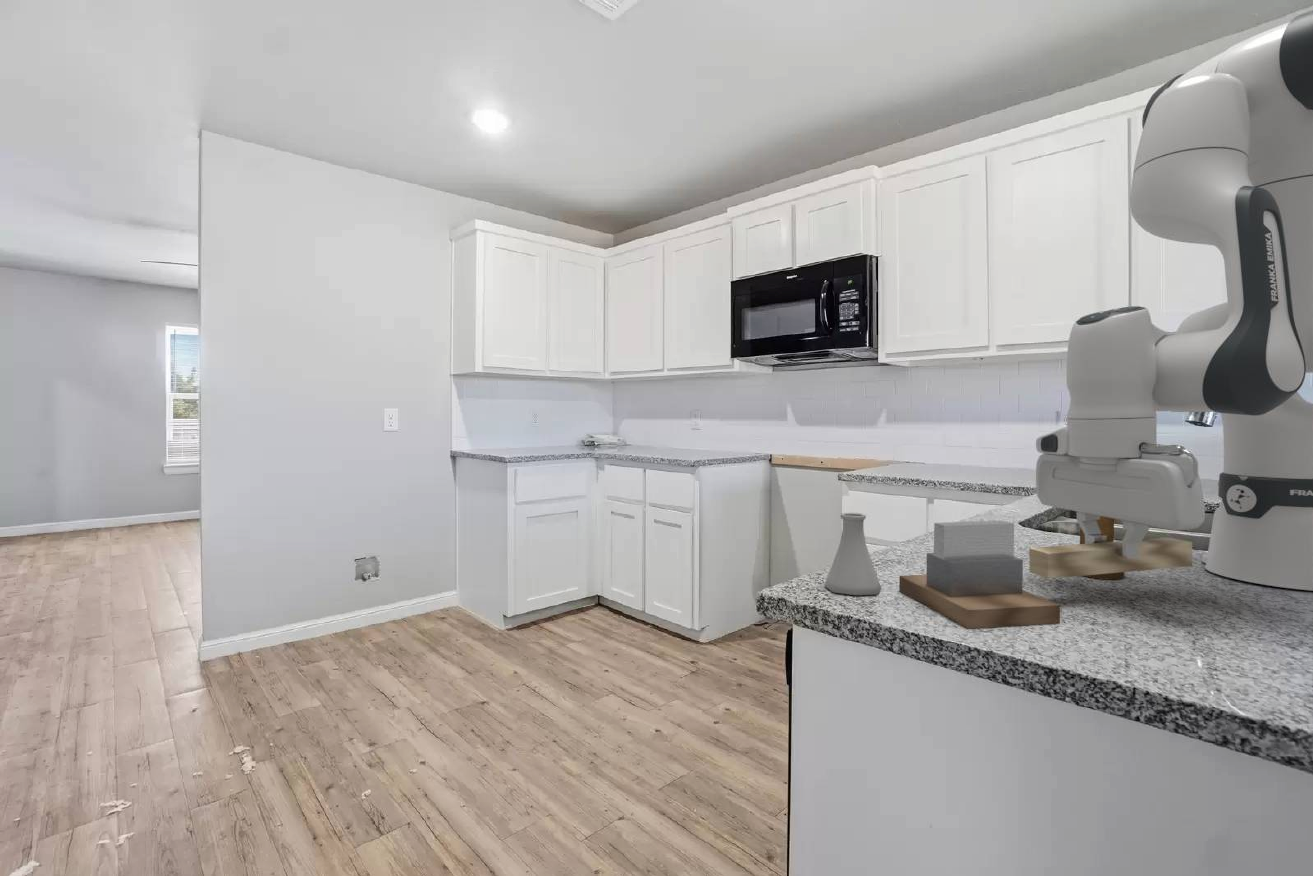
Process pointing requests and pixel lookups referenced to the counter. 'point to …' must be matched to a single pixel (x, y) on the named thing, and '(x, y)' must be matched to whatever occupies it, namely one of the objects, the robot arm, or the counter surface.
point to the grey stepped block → (974, 559)
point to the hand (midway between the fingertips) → (1111, 552)
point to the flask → (853, 561)
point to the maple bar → (1108, 558)
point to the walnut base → (983, 606)
